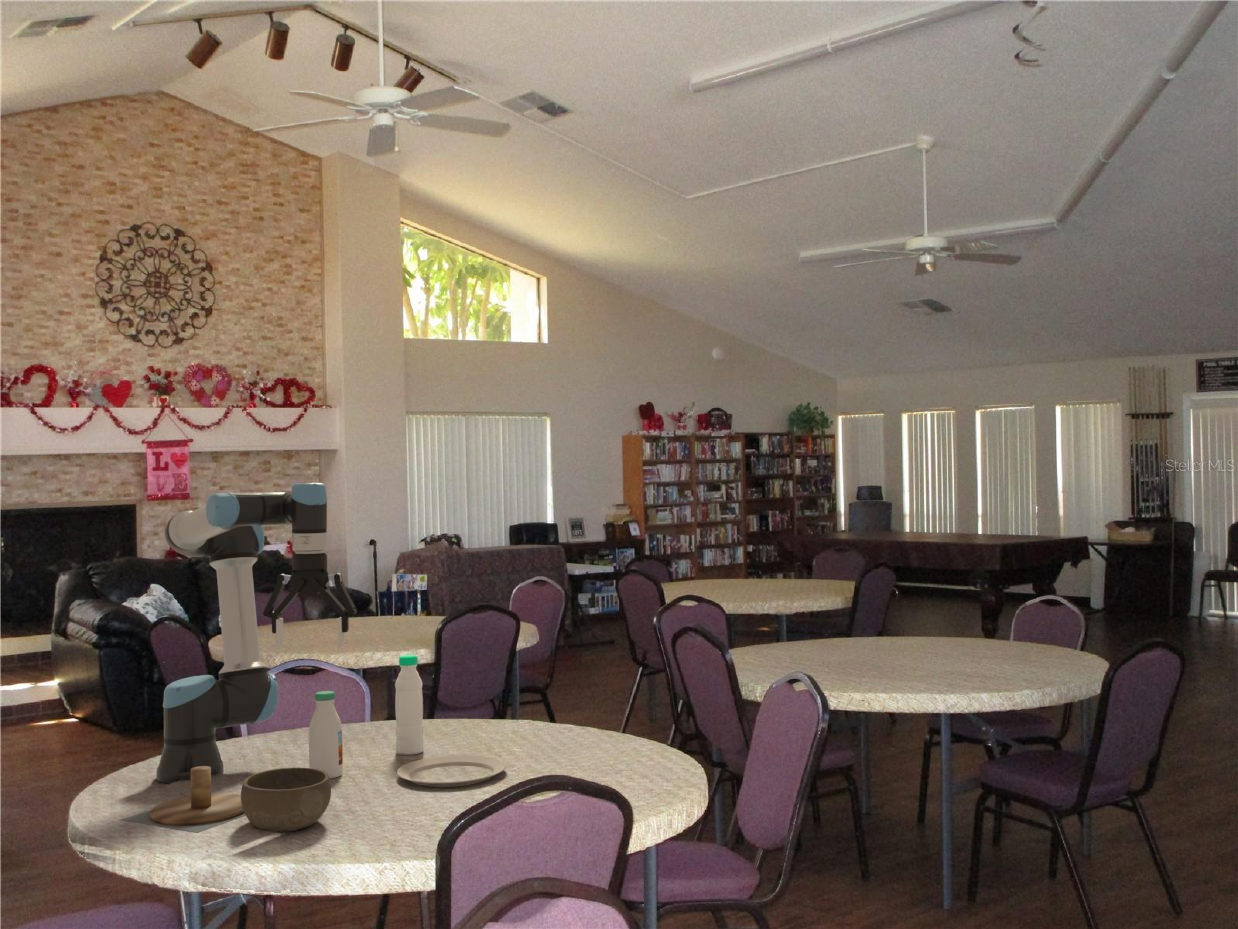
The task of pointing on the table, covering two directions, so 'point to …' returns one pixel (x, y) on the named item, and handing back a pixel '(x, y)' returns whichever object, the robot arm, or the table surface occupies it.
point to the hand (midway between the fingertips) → (310, 647)
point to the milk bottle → (326, 736)
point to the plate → (454, 760)
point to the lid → (198, 804)
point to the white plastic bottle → (409, 708)
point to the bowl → (285, 798)
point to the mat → (145, 819)
